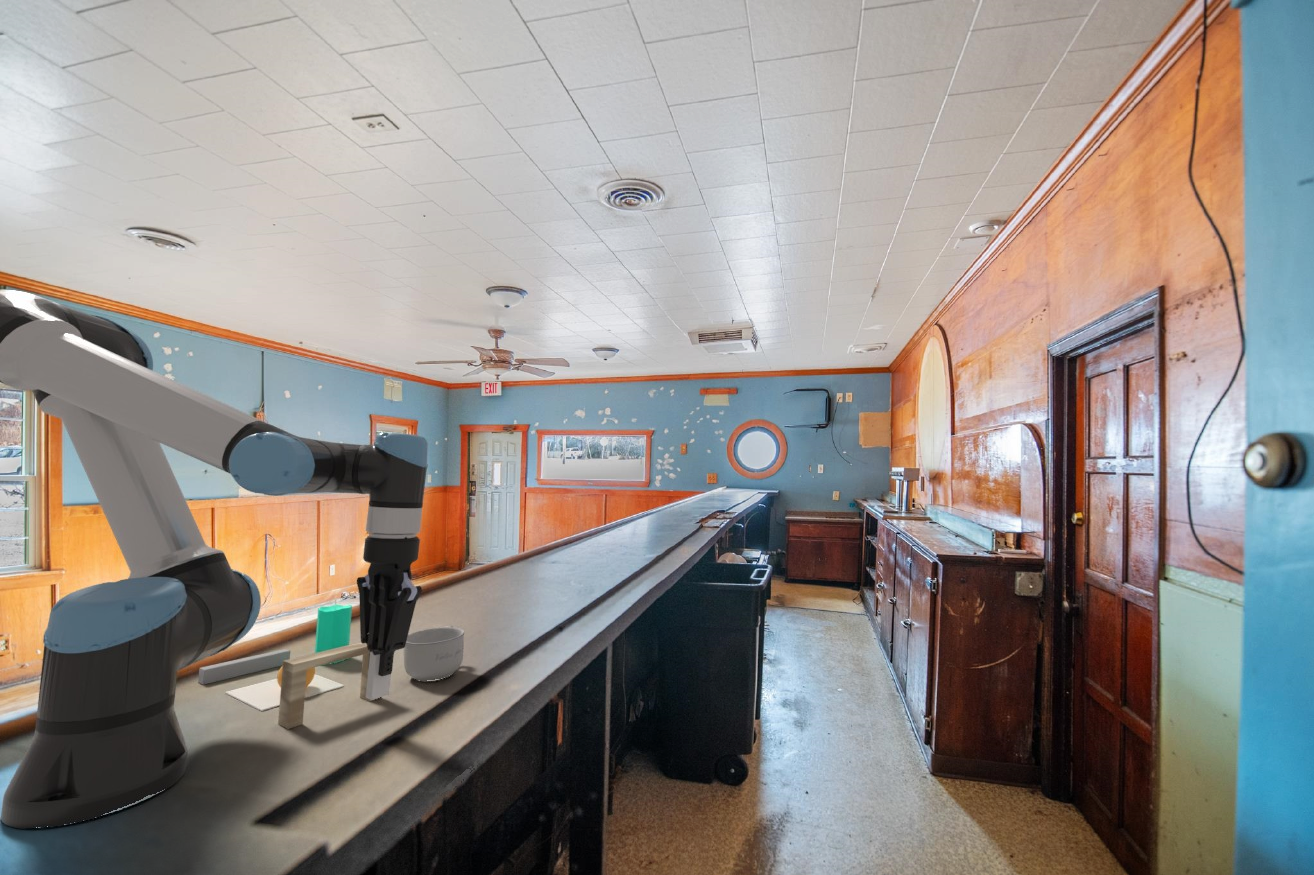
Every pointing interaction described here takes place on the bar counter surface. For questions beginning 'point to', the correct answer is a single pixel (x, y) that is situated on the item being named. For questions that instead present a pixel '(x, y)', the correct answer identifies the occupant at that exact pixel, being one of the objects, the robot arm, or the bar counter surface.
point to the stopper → (242, 666)
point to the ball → (309, 676)
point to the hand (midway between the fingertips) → (377, 696)
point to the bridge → (296, 679)
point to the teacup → (433, 653)
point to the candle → (333, 627)
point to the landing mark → (278, 692)
